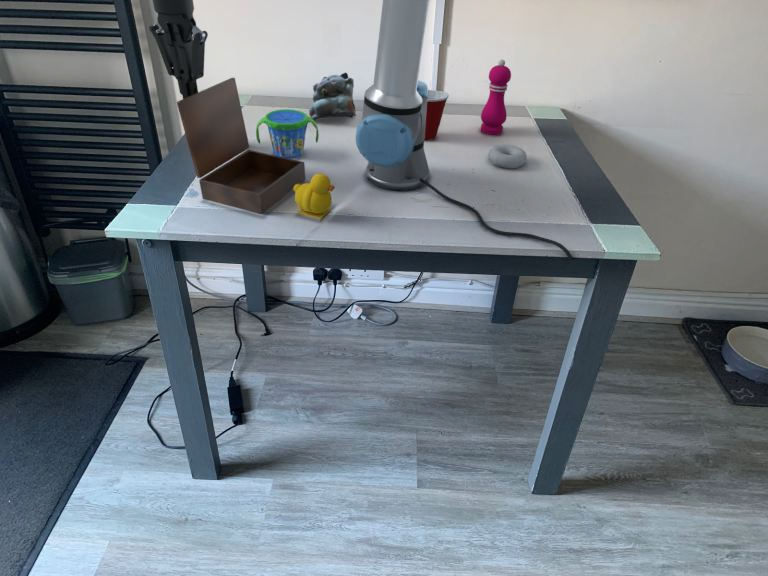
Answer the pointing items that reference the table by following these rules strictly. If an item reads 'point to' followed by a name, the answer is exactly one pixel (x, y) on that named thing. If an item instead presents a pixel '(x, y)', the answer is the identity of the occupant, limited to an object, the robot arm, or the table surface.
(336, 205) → the table surface
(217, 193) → the chest
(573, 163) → the table surface
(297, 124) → the snack cup
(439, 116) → the plastic cup
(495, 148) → the donut
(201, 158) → the lid
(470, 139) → the table surface
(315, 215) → the duck
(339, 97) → the lucky cat figurine
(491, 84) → the pepper mill
